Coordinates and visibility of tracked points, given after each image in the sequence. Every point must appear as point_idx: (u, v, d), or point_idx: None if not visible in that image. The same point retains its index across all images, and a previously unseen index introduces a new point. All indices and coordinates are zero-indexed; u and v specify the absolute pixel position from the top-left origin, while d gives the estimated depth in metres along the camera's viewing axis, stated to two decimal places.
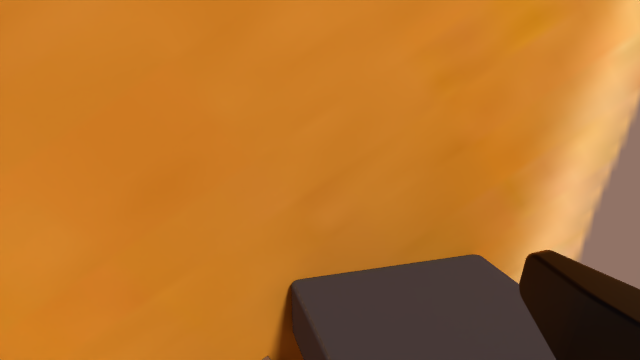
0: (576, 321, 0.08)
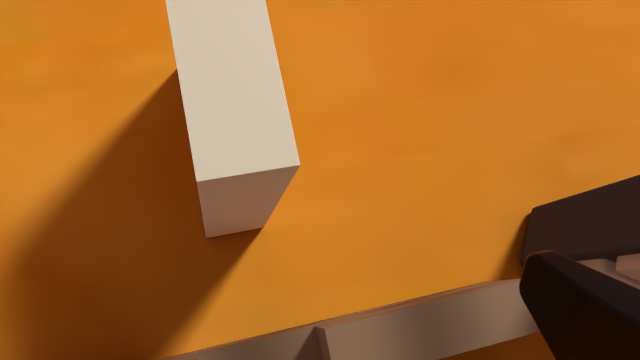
0: (576, 321, 0.08)
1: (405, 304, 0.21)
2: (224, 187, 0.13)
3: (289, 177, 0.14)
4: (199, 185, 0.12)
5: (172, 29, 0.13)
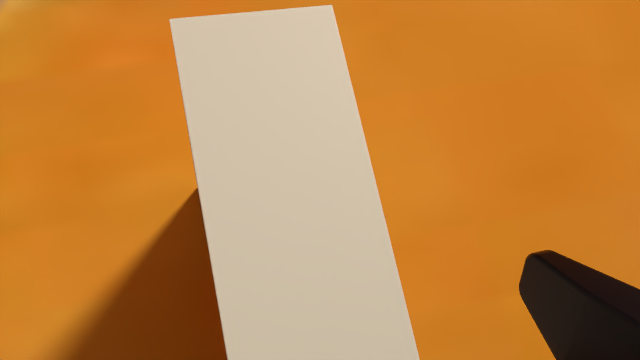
0: (576, 321, 0.08)
1: None
2: None
3: None
4: None
5: (220, 297, 0.07)
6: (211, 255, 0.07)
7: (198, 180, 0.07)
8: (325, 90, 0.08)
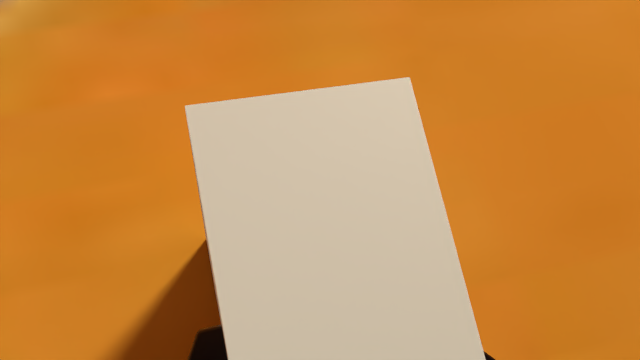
0: None
1: None
2: None
3: None
4: None
5: None
6: None
7: (229, 356, 0.05)
8: (406, 203, 0.05)
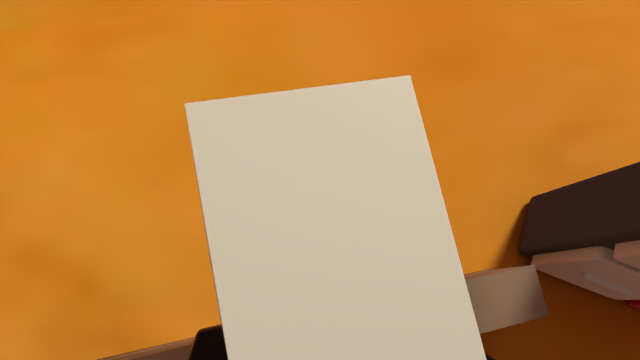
0: None
1: None
2: None
3: None
4: None
5: None
6: None
7: (229, 354, 0.05)
8: (406, 201, 0.05)
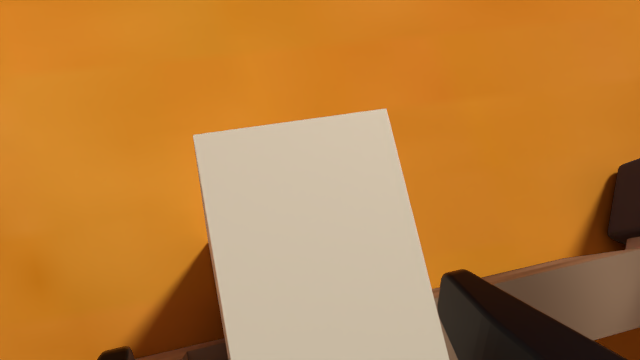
0: (483, 346, 0.08)
1: None
2: None
3: None
4: None
5: None
6: None
7: (230, 347, 0.06)
8: (382, 217, 0.06)
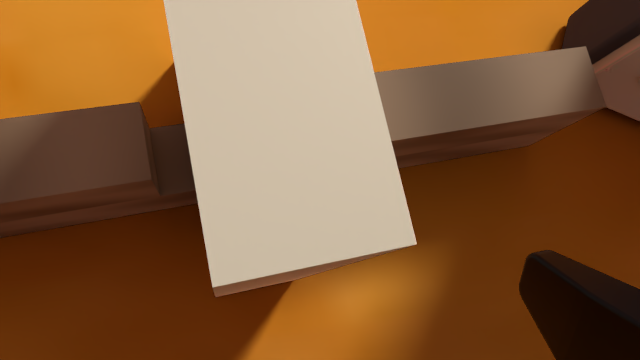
0: (576, 321, 0.08)
1: None
2: (262, 278, 0.07)
3: (378, 254, 0.07)
4: (217, 287, 0.06)
5: None
6: None
7: None
8: None
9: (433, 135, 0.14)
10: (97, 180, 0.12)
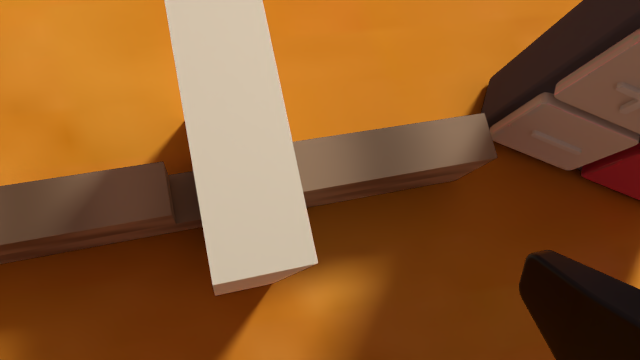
0: (576, 321, 0.08)
1: None
2: (239, 281, 0.13)
3: (305, 267, 0.13)
4: (214, 285, 0.12)
5: (187, 123, 0.12)
6: (182, 102, 0.12)
7: (175, 63, 0.13)
8: (250, 17, 0.13)
9: (368, 180, 0.20)
10: (135, 216, 0.18)
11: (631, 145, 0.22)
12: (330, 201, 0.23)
